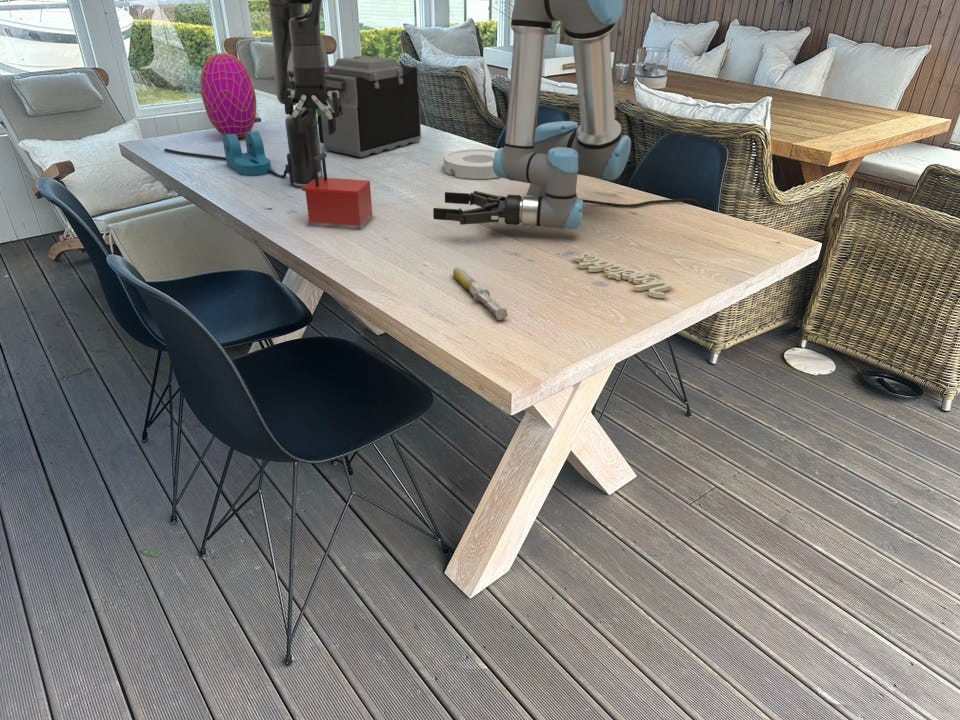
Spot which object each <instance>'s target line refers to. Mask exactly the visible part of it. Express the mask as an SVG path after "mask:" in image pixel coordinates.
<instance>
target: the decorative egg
mask: <svg viewBox="0 0 960 720" xmlns="http://www.w3.org/2000/svg"><path fill="white" fill-rule="evenodd" d="M200 93H201V99H202V103H203V106H204V109H205V112H206V114H207V117H208V120H209V121H210V123H211V124H212V126H213V127H214V128H215V130H216V131H217V132H218V133H219V134H220V135H222V136H223V137H224V135H230V134H235V135H236V136H237V138H238V139H241V138H244V137H246V133H247V132H252V129H253V127H254V125H255V122H256V117H257V95H256V90H255V86H254V84H253V80H252V77H251V75H250V73H249V71H248V69H247V68H246V66H245V65H244V64H243V62H242V60H241V59H239V58H238V57H237V56H235V55H233V54H231V53H227V52H219V53H215V54H213V55H210V56H208V58H207V59H206V60H205V62H204V64H203V67H202V68H201V74H200Z"/></svg>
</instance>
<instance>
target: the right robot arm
mask: <svg viewBox="0 0 960 720" xmlns="http://www.w3.org/2000/svg"><path fill="white" fill-rule="evenodd" d="M624 1H625V0H515V1H514V4H513V6H512V7H513V8H512V11H511V18H510V19H511V20H510V29H511V30H512V31H513V33H514V34H513V46H512V57H511V67H510V68H511V69H510V78H509V89H508V90H509V91H508V101H507V103H508V104H507V113H506V114H507V115H506V127H505V135H504V136H505V137H504V146H503V147H500V148H498V149H497V150H496V153H495V157H494V159H493V170H494V173H495V174H496V175H497V176H498V178H501V179H506V180H508V181H512V182H514V181H515V182H520V183H526V184H529V186H528V189H527V191H526V194H524V195H523V197H522V196H521V195H520V194H507V195H506V196H501V195H496V194H492V193H486V192H482V191H478V190H474V191H473V192H470V193H468V192H466V193H465V192H451V191H445V192H444V203H445V204H457V205H469V206H473V205H475V206H477V207H476V208H470V209H465V210H464V209H462V208H460V207H459V208H458V209H457V208H443V207H442V208H441V207H433V208H432V210H433V211H432V213H433V220H439V221H452V222H453V221H455V222H459V225H461V226H464V225H475V224H487V223H499V222H500V218H503V219H504V220H503V221H504V224H505V225H508V226H519V225H520V224H521V226H524V227H525V226H526V227H529V228H531V229H533V228H534V227H539V228H540V227H542V228H551V229H562V230H565V229H567V230H571V229H579V228H580V227H581V226H582V220H583V210H584V209H583V207H584V203H586V204H595V205H600V206H601V205H602V206H610V207H619V208H634V207H635V208H636V207H641V206H645V205H651V204H662V203H682V202H691V203H694V204H695V205H696V206H701V203H700V202H699V201H698V200H697V199H694V198H687V197H686V198H675V199H656V200H648V201H643V202H639V203H638V202H637V203H631V204H630V203H629V204H628V203H627V204H626V203H613V202H606V201H597V200H591V199H584V198H583V199H582V198H578V194H577V185H578V184H577V183H578V175H579V176H585V177H590V178H595V179H600V180H610V181H612V180H613V181H614V180H617V179H618V178H620V176H621V175H622V173H623V172H624V170H625V168H626V166H627V163H628V161H629V156H630V154H631V147H632V140H631V137H629V136H628V135H626V134H624V135H623V133H622V125H621V123H620V122H619V121H618V120H616V118H615V117H616V115H615V102H614V86H613V85H614V84H613V69H612V55H611V53H612V51H611V40H610V33H611V32H612V31H613V30H614V29H615V27H616V23H617V22H618V21H619V20H620V19H621V16H622V13H623V11H624ZM553 21H556V22H557V21H558V22H563V29H564V35H565V36H566V37H567V38H569V39H570V40H571V42H572V50H573V51H572V53H573V61H574V70H575V78H576V88H577V98H578V109H579V118H580V125H579V124H578V122H576V121H574V120H573V121H572V120H561V121H551V122H546V123H542V124H540V125H538V126H537V123H538V122H537V121H538V113H539V105H540V96H541V88H542V87H541V86H542V78H543V71H544V70H543V69H544V60H545V52H546V43H547V36H548V35H549V34H550V33H551V32H552V28H553Z"/></svg>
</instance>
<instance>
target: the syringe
mask: <svg viewBox="0 0 960 720" xmlns="http://www.w3.org/2000/svg"><path fill="white" fill-rule="evenodd" d="M452 274H453V277H454V279H455V280H457V281H458V282H459V283H460V285H462V287H464V289H466V290H467V291H468V293H470V295H471V296H472V298H473V300H474V302H477V303H478V302H480V303H482V304H483V305H484V306H485V307H486V308H487V309H488V310H489V311H490V312H491V313H492V314H493V315H494V316H495V317H496V320H497V321H503V320H504V319H506V318H507V317H509V314H508V310H507V308H506V307H502V306H501V305H500V303H498V302H497V301H496V300H494V299H493V298H492V297H491V296H490V295H491V293H490V290H488V289H486V288H483V287H482V286H481V285H480V284H479V283H478V282H477V281H476V280H474V278H473V277H471V275H469V274H468V273H467V272H466V270H465V269H464V268H463V267H462V266H456V267H454V268H453V271H452Z"/></svg>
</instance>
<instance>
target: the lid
mask: <svg viewBox="0 0 960 720" xmlns="http://www.w3.org/2000/svg"><path fill="white" fill-rule="evenodd" d="M326 158H327V153H326V152H324V151H322V152H320V154H319V155H317V156H316V157H314V158H313V159H312V160H311V162H312V164H313V166H314V175H315V179H314V180H312V181H311V182H309V183H308V184H307V185H305V186H304V187H302V188H301V191H302V192H306V191H312V192H327V193H342V194H357V195H358V194H359V193H360V192H361V191H362V190H363V189H364V188H366V187H367V186H368V185H369V184H370V185H371V180H366V179H351V178H335V177H328V173H327V164H326V163H327V162H326ZM320 161H321V165H322V175H323V178H321V177H318V170H317V163H318V162H320Z"/></svg>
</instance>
